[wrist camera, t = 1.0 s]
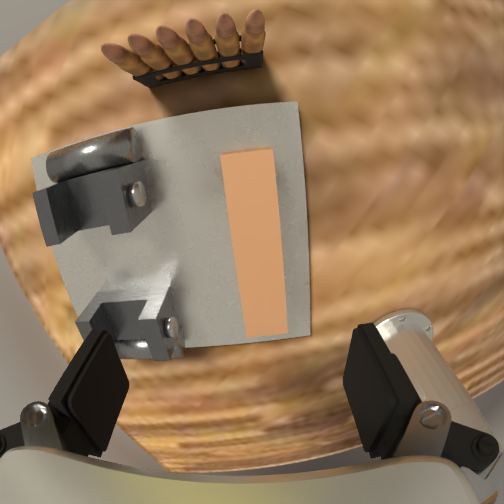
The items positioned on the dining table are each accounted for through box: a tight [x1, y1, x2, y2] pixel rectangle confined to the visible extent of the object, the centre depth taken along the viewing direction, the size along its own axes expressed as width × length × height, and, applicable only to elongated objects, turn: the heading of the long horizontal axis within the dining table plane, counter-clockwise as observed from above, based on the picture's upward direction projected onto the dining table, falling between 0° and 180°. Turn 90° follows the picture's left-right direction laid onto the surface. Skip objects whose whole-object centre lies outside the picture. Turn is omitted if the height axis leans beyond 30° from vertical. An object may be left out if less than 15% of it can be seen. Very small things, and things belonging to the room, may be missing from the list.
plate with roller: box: [31, 101, 310, 361], centre depth 26 cm, size 25×28×7 cm
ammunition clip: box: [101, 9, 265, 88], centre depth 17 cm, size 11×2×12 cm, turn 98°
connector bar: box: [220, 147, 288, 338], centre depth 27 cm, size 17×4×4 cm, turn 6°
